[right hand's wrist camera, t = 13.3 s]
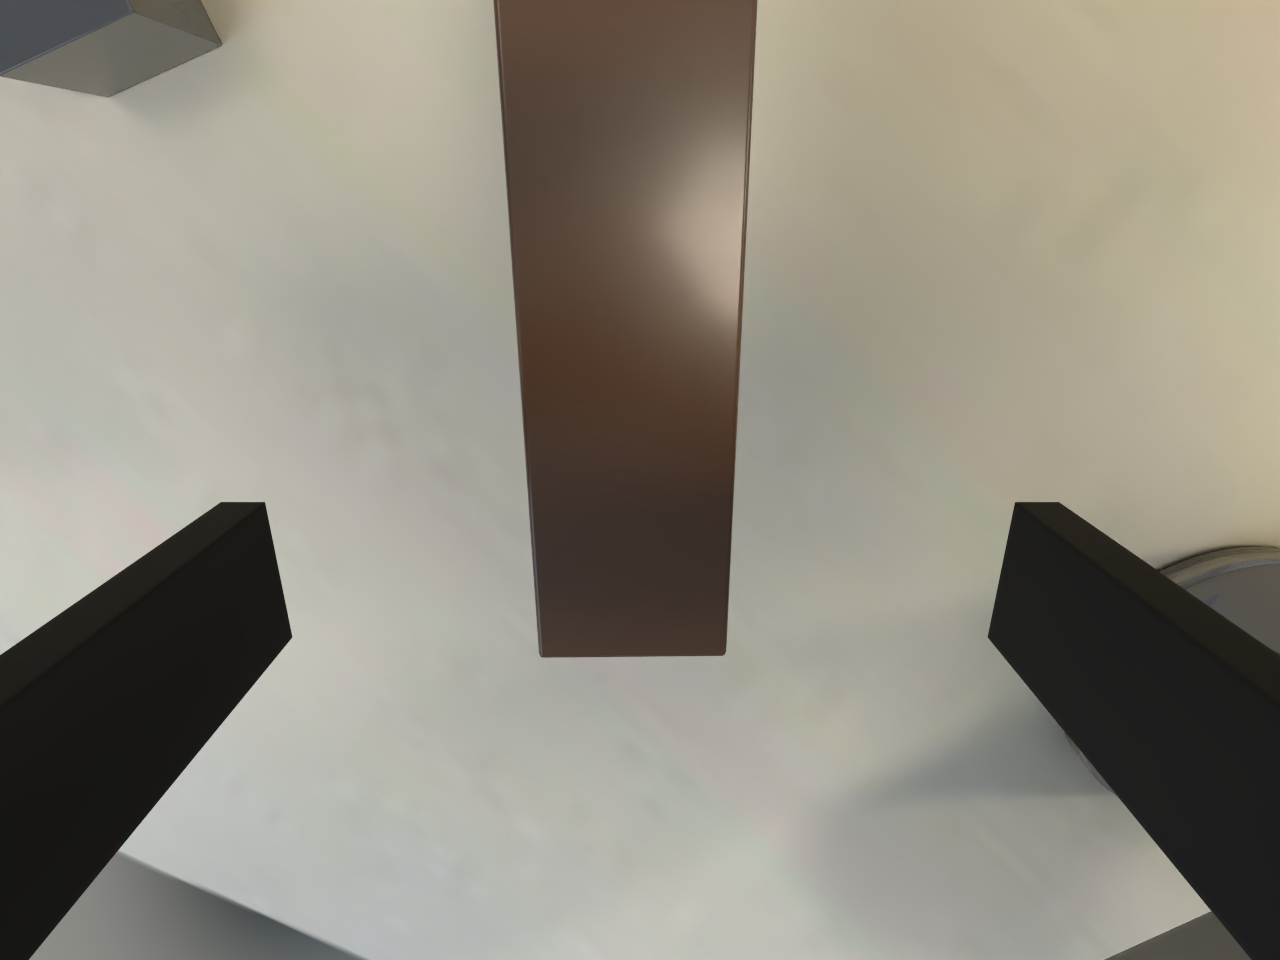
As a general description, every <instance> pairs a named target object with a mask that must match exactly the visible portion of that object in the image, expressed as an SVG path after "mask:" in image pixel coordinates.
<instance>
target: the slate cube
mask: <svg viewBox="0 0 1280 960" xmlns="http://www.w3.org/2000/svg"><path fill="white" fill-rule="evenodd" d="M221 45H222V43H221V41H220V39H219V37H218V35H217V33H216V32H215V30H214V28H213V26H212V24H211V22H210V20H209V18H208V16H207V14H206V12H205V10H204V8H203V6H202V4H201V2H200V0H0V76H1V77H6V78H11V79H16V80H21V81H26V82H31V83H36V84H42V85H47V86H52V87H57V88H62V89H67V90H72V91H77V92H83V93H88V94H93V95H98V96H103V97H109V96H112V95H114V94H116V93H118V92H120V91H123V90H125V89H127V88H129V87H131V86H134V85H136V84H138V83H140V82H142V81H145V80H147V79H149V78H151V77H153V76H156V75H158V74H160V73H162V72H164V71H166V70H169V69H171V68H173V67H175V66H177V65H180V64H182V63H184V62H186V61H188V60H191V59H193V58H195V57H197V56H199V55H202V54H204V53H206V52H208V51H210V50H213V49H215V48H217V47H219V46H221Z"/></svg>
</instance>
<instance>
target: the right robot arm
mask: <svg viewBox="0 0 1280 960" xmlns="http://www.w3.org/2000/svg"><path fill="white" fill-rule="evenodd" d="M291 638H292V633H291V629H290V624H289V619H288V614H287V609H286V604H285V599H284V594H283V589H282V584H281V579H280V574H279V569H278V565H277V560H276V555H275V550H274V545H273V540H272V535H271V530H270V525H269V520H268V515H267V510H266V505H265V502H221V503H219V504H218V505H216V506H215V507H214V508H212V509H211V510H209V511H208V512H206V513H205V514H203V515H202V516H201V517H199V518H198V519H196V520H195V521H193V522H192V523H190V524H189V525H188V526H186V527H185V528H183V529H182V530H180V531H179V532H177V533H176V534H175V535H173V536H172V537H170V538H169V539H167V540H166V541H164V542H163V543H162V544H160V545H159V546H157V547H156V548H154V549H153V550H151V551H150V552H149V553H147V554H146V555H144V556H143V557H141V558H140V559H138V560H137V561H136V562H134V563H133V564H131V565H130V566H128V567H127V568H125V569H124V570H123V571H121V572H120V573H118V574H117V575H115V576H114V577H112V578H111V579H110V580H108V581H107V582H105V583H104V584H102V585H101V586H99V587H98V588H97V589H95V590H94V591H92V592H91V593H89V594H88V595H87V596H85V597H84V598H82V599H81V600H79V601H78V602H76V603H75V604H74V605H72V606H71V607H69V608H68V609H66V610H65V611H63V612H62V613H61V614H59V615H58V616H56V617H55V618H53V619H52V620H50V621H49V622H48V623H46V624H45V625H43V626H42V627H40V628H39V629H37V630H36V631H35V632H33V633H32V634H30V635H29V636H27V637H26V638H24V639H23V640H22V641H20V642H19V643H17V644H16V645H14V646H13V647H11V648H10V649H9V650H7V651H6V652H4V653H3V654H1V655H0V960H29V959H30V957H31V956H32V955H33V954H34V953H35V951H36V950H37V949H38V948H39V946H40V945H41V944H42V943H43V942H44V940H45V939H46V938H47V937H48V935H49V934H50V933H51V932H52V930H53V929H54V928H55V927H56V926H57V924H58V923H59V922H60V921H61V919H62V918H63V917H64V916H65V915H66V913H67V912H68V911H69V910H70V908H71V907H72V906H73V905H74V904H75V902H76V901H77V900H78V899H79V897H80V896H81V895H82V894H83V893H84V891H85V890H86V889H87V888H88V886H89V885H90V884H91V883H92V882H93V880H94V879H95V878H96V877H97V875H98V874H99V873H100V872H101V870H102V869H103V868H104V867H105V866H106V864H107V863H108V862H109V861H110V860H111V858H112V857H113V856H114V855H115V853H116V852H117V851H118V850H119V849H120V847H121V846H122V845H123V844H124V842H125V841H126V840H127V839H128V838H129V836H130V835H131V834H132V833H133V831H134V830H135V829H136V828H137V827H138V825H139V824H140V823H141V822H142V820H143V819H144V818H145V817H146V816H147V814H148V813H149V812H150V811H151V809H152V808H153V807H154V806H155V805H156V803H157V802H158V801H159V800H160V798H161V797H162V796H163V795H164V794H165V792H166V791H167V790H168V789H169V787H170V786H171V785H172V784H173V783H174V781H175V780H176V779H177V778H178V776H179V775H180V774H181V773H182V772H183V770H184V769H185V768H186V767H187V765H188V764H189V763H190V762H191V761H192V759H193V758H194V757H195V756H196V754H197V753H198V752H199V751H200V750H201V748H202V747H203V746H204V745H205V743H206V742H207V741H208V740H209V738H210V737H211V736H212V735H213V734H214V732H215V731H216V730H217V729H218V727H219V726H220V725H221V724H222V723H223V721H224V720H225V719H226V718H227V716H228V715H229V714H230V713H231V712H232V710H233V709H234V708H235V707H236V705H237V704H238V703H239V702H240V701H241V699H242V698H243V697H244V696H245V694H246V693H247V692H248V691H249V690H250V688H251V687H252V686H253V685H254V683H255V682H256V681H257V680H258V679H259V677H260V676H261V675H262V674H263V672H264V671H265V670H266V669H267V668H268V666H269V665H270V664H271V663H272V661H273V660H274V659H275V658H276V657H277V655H278V654H279V653H280V652H281V650H282V649H283V648H284V647H285V646H286V644H287V643H288V642H289V641H290V639H291ZM988 638H989V639H990V641H991V642H992V643H993V644H994V646H995V647H996V648H997V649H998V650H999V652H1000V653H1001V654H1002V655H1003V657H1004V658H1005V659H1006V660H1007V661H1008V663H1009V664H1010V665H1011V666H1012V668H1013V669H1014V670H1015V671H1016V672H1017V674H1018V675H1019V676H1020V677H1021V679H1022V680H1023V681H1024V682H1025V683H1026V685H1027V686H1028V687H1029V688H1030V690H1031V691H1032V692H1033V693H1034V694H1035V696H1036V697H1037V698H1038V699H1039V701H1040V702H1041V703H1042V704H1043V705H1044V707H1045V708H1046V709H1047V710H1048V712H1049V713H1050V714H1051V715H1052V716H1053V718H1054V719H1055V720H1056V721H1057V723H1058V724H1059V725H1060V726H1061V727H1062V729H1063V730H1064V731H1065V734H1066V737H1067V739H1068V741H1069V743H1070V745H1071V746H1072V748H1073V749H1074V751H1075V752H1076V754H1077V755H1078V756H1079V757H1080V759H1081V760H1082V761H1083V762H1084V764H1085V765H1086V766H1087V767H1088V768H1089V770H1090V771H1091V772H1092V773H1093V775H1094V776H1095V777H1096V778H1097V779H1098V780H1099V782H1100V783H1101V784H1103V785H1104V786H1105V787H1106V788H1107V789H1108V790H1110V791H1111V792H1112V793H1114V794H1115V795H1116V796H1117V797H1119V798H1120V800H1121V801H1122V802H1123V803H1124V805H1125V806H1126V807H1127V808H1128V809H1129V811H1130V812H1131V813H1132V814H1133V816H1134V817H1135V818H1136V819H1137V820H1138V822H1139V823H1140V824H1141V825H1142V827H1143V828H1144V829H1145V830H1146V831H1147V833H1148V834H1149V835H1150V836H1151V838H1152V839H1153V840H1154V841H1155V842H1156V844H1157V845H1158V846H1159V847H1160V849H1161V850H1162V851H1163V852H1164V853H1165V855H1166V856H1167V857H1168V858H1169V860H1170V861H1171V862H1172V863H1173V864H1174V866H1175V867H1176V868H1177V869H1178V871H1179V872H1180V873H1181V874H1182V875H1183V877H1184V878H1185V879H1186V880H1187V882H1188V883H1189V884H1190V885H1191V886H1192V888H1193V889H1194V890H1195V891H1196V893H1197V894H1198V895H1199V896H1200V897H1201V899H1202V900H1203V901H1204V902H1205V904H1206V905H1207V906H1208V907H1209V908H1210V910H1211V912H1209V913H1207V914H1205V915H1202V916H1200V917H1198V918H1196V919H1193V920H1191V921H1189V922H1187V923H1185V924H1182V925H1180V926H1178V927H1176V928H1174V929H1171V930H1169V931H1167V932H1165V933H1163V934H1160V935H1158V936H1156V937H1154V938H1152V939H1149V940H1147V941H1145V942H1143V943H1140V944H1138V945H1136V946H1134V947H1132V948H1129V949H1127V950H1125V951H1123V952H1121V953H1118V954H1116V955H1114V956H1112V957H1110V958H1107V959H1105V960H1280V548H1274V547H1239V548H1232V549H1224V550H1220V551H1215V552H1211V553H1207V554H1203V555H1200V556H1196V557H1193V558H1190V559H1188V560H1185V561H1182V562H1180V563H1177V564H1175V565H1173V566H1171V567H1168V568H1166V569H1164V570H1162V571H1160V572H1159V571H1157V570H1156V569H1155V568H1153V567H1152V566H1150V565H1149V564H1147V563H1146V562H1144V561H1143V560H1142V559H1140V558H1139V557H1137V556H1136V555H1134V554H1133V553H1131V552H1130V551H1129V550H1127V549H1126V548H1124V547H1123V546H1121V545H1120V544H1118V543H1117V542H1116V541H1114V540H1113V539H1111V538H1110V537H1108V536H1107V535H1105V534H1104V533H1103V532H1101V531H1100V530H1098V529H1097V528H1095V527H1094V526H1092V525H1091V524H1090V523H1088V522H1087V521H1085V520H1084V519H1082V518H1081V517H1079V516H1078V515H1077V514H1075V513H1074V512H1072V511H1071V510H1069V509H1068V508H1066V507H1065V506H1064V505H1062V504H1061V503H1059V502H1015V505H1014V510H1013V515H1012V520H1011V525H1010V530H1009V535H1008V540H1007V545H1006V550H1005V555H1004V560H1003V565H1002V569H1001V574H1000V579H999V584H998V589H997V594H996V599H995V604H994V609H993V614H992V619H991V624H990V629H989V633H988Z"/></svg>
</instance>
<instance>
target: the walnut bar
mask: <svg viewBox="0 0 1280 960" xmlns="http://www.w3.org/2000/svg"><path fill="white" fill-rule="evenodd" d="M494 13H495V28H496V42H497V56H498V71H499V85H500V99H501V114H502V128H503V143H504V157H505V171H506V186H507V200H508V214H509V229H510V243H511V257H512V272H513V286H514V300H515V315H516V329H517V343H518V358H519V372H520V386H521V401H522V415H523V429H524V444H525V458H526V472H527V487H528V501H529V516H530V530H531V544H532V559H533V573H534V587H535V602H536V616H537V630H538V645H539V654H540V656H541V657H640V656H723V655H725V653H726V644H727V623H728V602H729V581H730V560H731V539H732V518H733V498H734V477H735V456H736V435H737V414H738V393H739V373H740V352H741V331H742V310H743V289H744V268H745V248H746V227H747V206H748V185H749V164H750V143H751V123H752V102H753V81H754V60H755V39H756V18H757V0H494Z"/></svg>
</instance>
